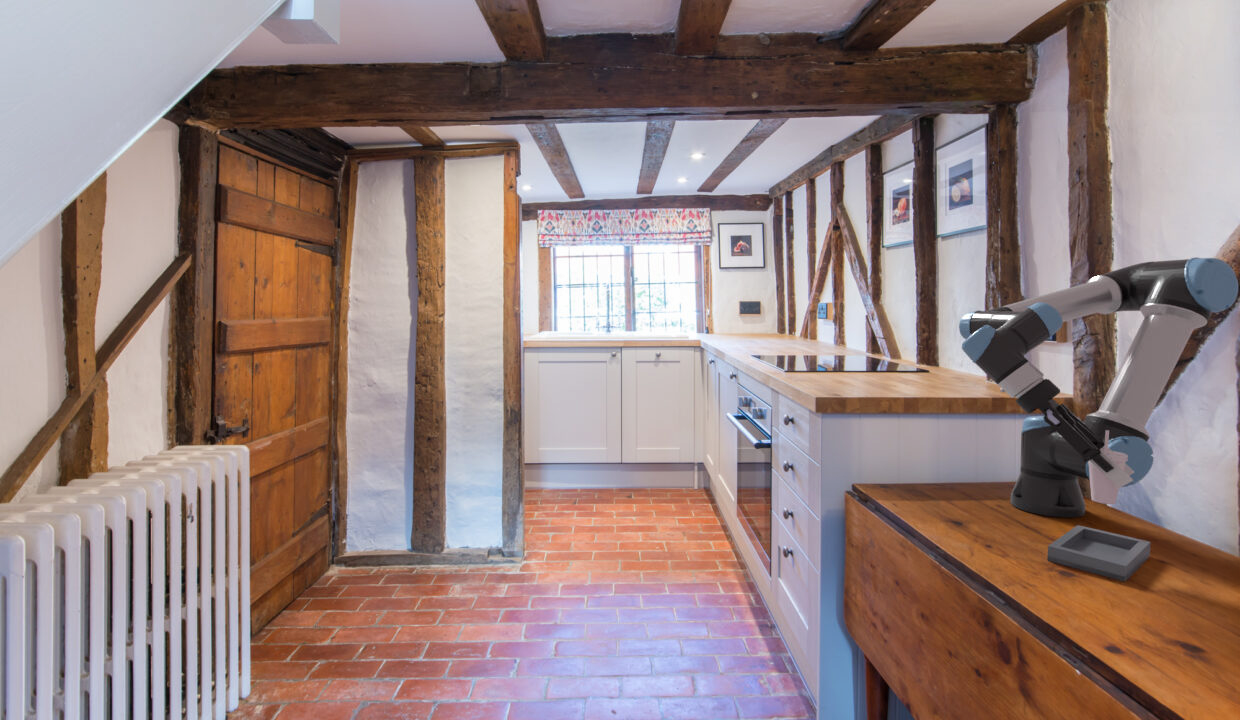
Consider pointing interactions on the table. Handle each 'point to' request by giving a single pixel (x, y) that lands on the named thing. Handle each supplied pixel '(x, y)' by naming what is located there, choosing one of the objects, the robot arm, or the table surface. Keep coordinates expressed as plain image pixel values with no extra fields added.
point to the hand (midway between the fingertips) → (1126, 479)
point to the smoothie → (1099, 483)
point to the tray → (1099, 552)
